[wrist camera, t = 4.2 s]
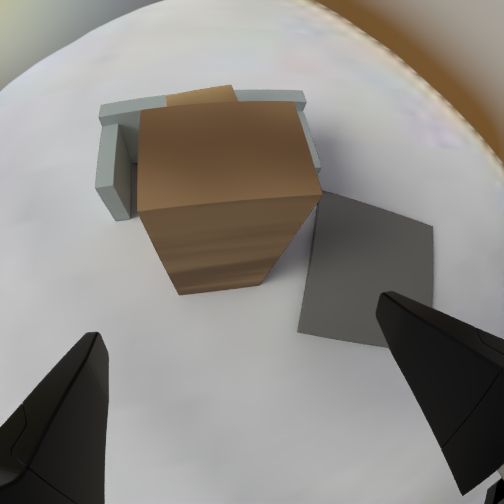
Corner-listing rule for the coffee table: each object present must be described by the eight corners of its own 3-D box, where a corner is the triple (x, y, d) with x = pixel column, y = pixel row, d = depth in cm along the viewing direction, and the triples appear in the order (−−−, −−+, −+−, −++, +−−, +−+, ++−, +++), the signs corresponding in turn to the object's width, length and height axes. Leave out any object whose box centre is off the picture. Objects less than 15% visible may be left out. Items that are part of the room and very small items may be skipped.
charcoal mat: (428, 229, 25) (432, 226, 25) (423, 352, 21) (427, 351, 21) (318, 193, 24) (321, 189, 24) (297, 332, 21) (299, 331, 20)
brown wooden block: (259, 285, 22) (322, 194, 9) (178, 295, 21) (137, 211, 8) (250, 231, 23) (293, 101, 10) (173, 239, 22) (140, 110, 10)
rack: (301, 202, 24) (326, 158, 18) (115, 221, 22) (90, 179, 16) (285, 139, 26) (302, 90, 20) (118, 153, 23) (100, 105, 18)
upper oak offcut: (243, 170, 20) (251, 131, 16) (182, 184, 19) (177, 146, 15) (226, 125, 21) (231, 84, 17) (170, 137, 20) (165, 96, 16)
